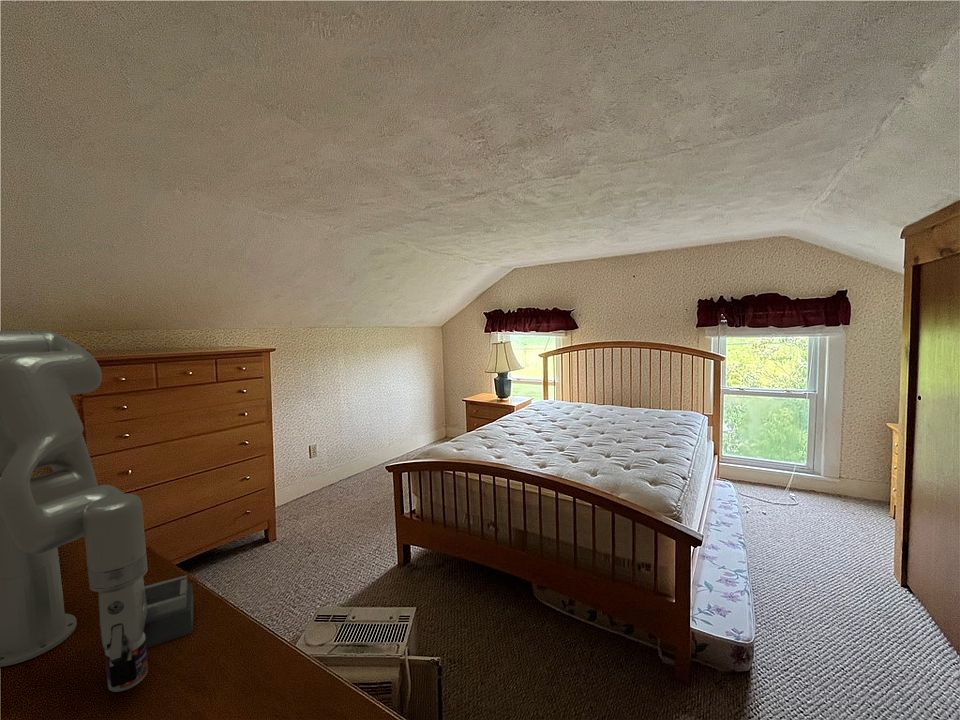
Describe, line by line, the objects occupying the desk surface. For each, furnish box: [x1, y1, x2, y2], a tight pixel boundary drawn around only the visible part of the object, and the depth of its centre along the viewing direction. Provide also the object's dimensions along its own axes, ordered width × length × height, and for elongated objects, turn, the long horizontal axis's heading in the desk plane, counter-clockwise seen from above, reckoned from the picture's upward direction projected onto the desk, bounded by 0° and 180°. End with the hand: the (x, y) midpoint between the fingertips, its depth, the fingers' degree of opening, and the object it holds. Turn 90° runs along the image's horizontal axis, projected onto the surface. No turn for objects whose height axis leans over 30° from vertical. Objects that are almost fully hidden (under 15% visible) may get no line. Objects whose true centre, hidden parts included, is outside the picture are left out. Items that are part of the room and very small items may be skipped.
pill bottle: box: [104, 632, 149, 693], centre depth 73 cm, size 5×5×10 cm
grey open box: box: [143, 574, 195, 649], centre depth 85 cm, size 10×10×8 cm
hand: (127, 666), depth 73 cm, fingers open, 6 cm apart
